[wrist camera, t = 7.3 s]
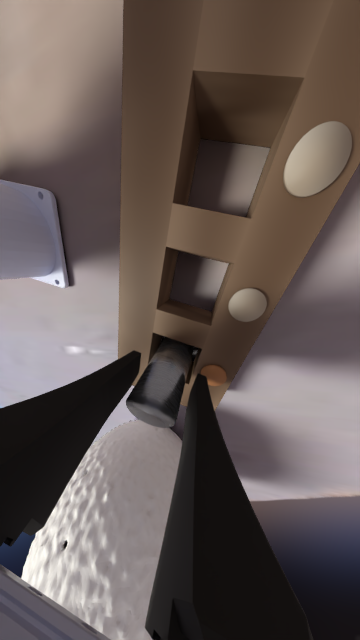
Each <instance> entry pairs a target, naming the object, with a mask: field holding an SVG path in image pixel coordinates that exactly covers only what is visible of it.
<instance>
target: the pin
mask: <svg viewBox="0 0 360 640" xmlns="http://www.w3.org/2000/svg"><path fill="white" fill-rule="evenodd" d="M193 350H194V346H192V345H189V344H186V343H183V342H180V341H177V340H174V339H171V338H168V337H165V338H164V339H163V341H162V343H161V344H160V346H159V348H158V349H157V351H156V352H155V354H154V356H153V357H152V359H151V361H150V362H149V364H148V366H147V367H146V369H145V370H144V372H143V374H142V375H141V377H140V379H139V380H138V382H137V384H136V385H135V387H134V388H133V390H132V392H131V393H130V395H129V397H128V398H127V400H126V405H127V408H128V409H129V411H130V412H131V413H132V414H133V415H134V416H135V417H137V418H138V419H139V420H141V421H143V422H145V423H147V424H149V425H152V426H155V427H159V428H169V427H172V426H173V425H174V424H175V423H176V419H177V415H178V411H179V407H180V403H181V399H182V395H183V390H184V386H185V382H186V378H187V374H188V370H189V366H190V362H191V358H192V354H193Z"/></svg>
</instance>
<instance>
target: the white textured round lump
mask: <svg viewBox="0 0 360 640" xmlns="http://www.w3.org/2000/svg"><path fill="white" fill-rule="evenodd" d="M181 448H182V441H181V439H180V438H179V437H178V436H177V435H176V434H175V432H173V431H172V430H171V429H170V428H159V427H155V426H152V425H149V424H147V423H145V422H143V421H141V420H139V419H138V420H135V421H132V420H130V421H129V422H128V423H124V424H123V425H119V426H118V427H115V428H114V429H112V430H111V431H110V432H108V433H106V434H105V435H104V436H102V437H101V438H100V439H99V440H98V441H96V442H95V443H94V445H92V446H91V447H90V448H89V449H88V451H87V452H86V454H85V456H84V457H83V459H82V461H81V462H80V464H79V466H78V467H77V469H76V471H75V473H74V474H73V476H72V478H71V479H70V481H69V483H68V485H67V486H66V488H65V490H64V492H63V493H62V495H61V497H60V499H59V501H58V502H57V504H56V506H55V508H54V509H53V511H52V513H51V515H50V517H49V518H48V520H47V522H46V524H45V526H44V527H43V528H42V529H41V530H39V531H38V532H36V538H35V539H34V541H33V542H32V545H31V547H30V550H29V555H28V557H27V560H26V563H25V565H24V567H23V575H22V578H21V579H22V580H24V581H25V582H27V583H28V584H30V585H31V586H33V587H34V588H36V589H37V590H39V591H40V592H41V593H43V594H44V595H46V596H47V597H49V598H50V599H52V600H53V601H55V602H56V603H58V604H59V605H61V606H62V607H64V608H65V609H67V610H68V611H69V612H71V613H72V614H74V615H75V616H77V617H78V618H80V619H81V620H83V621H84V622H86V623H87V624H89V625H90V626H92V627H93V628H94V629H96V630H97V631H99V632H100V633H102V634H103V635H105V636H106V637H108V638H109V639H111V640H153V639H152V638H151V636H150V635H149V633H148V632H147V630H146V629H145V623H146V617H147V612H148V607H149V602H150V597H151V592H152V588H153V583H154V579H155V574H156V570H157V565H158V561H159V556H160V551H161V547H162V542H163V538H164V533H165V528H166V523H167V519H168V514H169V509H170V505H171V500H172V495H173V490H174V485H175V480H176V475H177V470H178V465H179V460H180V454H181Z"/></svg>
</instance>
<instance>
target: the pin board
mask: <svg viewBox="0 0 360 640" xmlns="http://www.w3.org/2000/svg"><path fill="white" fill-rule="evenodd" d="M200 138H201V139H209V140H217V141H224V142H232V143H240V144H247V145H255V146H263V147H270V151H269V154H268V156H267V159H266V162H265V165H264V168H263V170H262V173H261V176H260V179H259V182H258V184H257V187H256V190H255V193H254V195H253V198H252V201H251V204H250V207H249V209H248V212H247V215H246V218H245V217H240V216H235V215H230V214H225V213H220V212H215V211H210V210H205V209H200V208H195V207H190V206H187V205H188V200H189V195H190V190H191V184H192V179H193V174H194V169H195V164H196V159H197V153H198V148H199V143H200ZM359 163H360V0H124V9H123V74H122V138H121V203H120V268H119V332H118V359H120V358H121V357H123V356H125V355H126V354H128V353H130V352H132V351H133V350H135V351H138V352H140V353H141V361H140V369H139V373H138V375H137V377H136V379H135V381H134V382H133V384H132V385H133V386H135V385H136V384H137V382H138V380H139V379H140V377H141V375H142V374H143V372H144V370H145V369H146V367H147V366H148V364H149V362H150V361H151V359H152V357H153V356H154V354H155V352H156V351H157V349H158V348H159V346H160V344H161V340H162V336H165V337H168V338H171V339H174V340H177V341H180V342H183V343H186V344H189V345H192V346H195V347H198V351H197V354H196V357H195V360H194V361H191V362H190V366H189V370H188V374H187V378H186V382H185V386H184V390H183V395H182V399H181V403H180V404H181V405H183V406H186V407H187V404H188V399H189V395H190V391H191V389H192V386H193V383H194V381H195V378H196V376H197V373H199V374H201V375H204V376H206V377H207V381H208V386H209V391H210V395H211V400H212V403H213V407H214V411H215V409H216V408H217V406H218V404H219V403H220V401H221V399H222V397H223V396H224V394H225V392H226V391H227V389H228V387H229V385H230V384H231V382H232V380H233V379H234V377H235V375H236V374H237V372H238V370H239V368H240V367H241V365H242V363H243V362H244V360H245V358H246V356H247V355H248V353H249V351H250V350H251V348H252V346H253V344H254V343H255V341H256V339H257V338H258V336H259V334H260V332H261V331H262V329H263V327H264V326H265V324H266V322H267V321H268V319H269V317H270V315H271V314H272V312H273V310H274V309H275V307H276V305H277V303H278V302H279V300H280V298H281V297H282V295H283V293H284V291H285V290H286V288H287V286H288V285H289V283H290V281H291V280H292V278H293V276H294V274H295V273H296V271H297V269H298V268H299V266H300V264H301V262H302V261H303V259H304V257H305V256H306V254H307V252H308V250H309V249H310V247H311V245H312V244H313V242H314V240H315V238H316V237H317V235H318V233H319V232H320V230H321V228H322V227H323V225H324V223H325V221H326V220H327V218H328V216H329V215H330V213H331V211H332V209H333V208H334V206H335V204H336V203H337V201H338V199H339V197H340V196H341V194H342V192H343V191H344V189H345V187H346V186H347V184H348V182H349V180H350V179H351V177H352V175H353V174H354V172H355V170H356V168H357V167H358V165H359ZM179 251H180V252H184V253H188V254H192V255H196V256H200V257H204V258H208V259H213V260H217V261H221V262H225V263H229V265H228V268H227V271H226V273H225V276H224V279H223V282H222V284H221V287H220V290H219V293H218V296H217V298H216V301H215V304H214V307H213V309H212V312H211V311H208V310H204V309H201V308H198V307H194V306H191V305H188V304H184V303H181V302H177V301H174V300H171V299H169V298H170V293H171V288H172V283H173V277H174V272H175V267H176V262H177V257H178V252H179Z"/></svg>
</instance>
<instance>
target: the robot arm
mask: <svg viewBox="0 0 360 640" xmlns="http://www.w3.org/2000/svg"><path fill="white" fill-rule="evenodd" d="M17 278H33V279H36V280H39V281H42V282H45V283H48V284H51V285H55V286H58V287H61V288H67V287H68V286H69V283H68V276H67V270H66V263H65V257H64V250H63V244H62V237H61V231H60V225H59V218H58V212H57V205H56V199H55V196H54V194H53V193H52V192H51V191H49V190H46V189H43V188H38V187H34V186H29V185H24V184H19V183H15V182H10V181H5V180H1V179H0V280H3V279H17ZM140 361H141V353H140V352H138V351H135V350H133V351H132V352H130V353H128V354H126V355H125V356H123V357H121V358H120V359H118V360H116V361H114V362H113V363H111V364H109V365H107V366H105V367H103V368H102V369H100V370H98V371H96V372H94V373H92V374H90V375H88V376H86V377H83V378H81V379H79V380H77V381H75V382H72V383H70V384H68V385H65V386H63V387H60V388H58V389H55V390H53V391H50V392H47V393H45V394H42V395H39V396H37V397H34V398H31V399H28V400H25V401H22V402H19V403H16V404H13V405H10V406H7V407H3V408H0V546H1V545H2V543H3V542H4V543H5V544H7V545H9V546H12V544H13V543H14V542H15V541H16V539H17V538H18V537H19V535H20V534H21V532H22V531H23V532H25V533H27V534H28V535H33V534H35V533H36V532H38V531H39V530H41V529H42V528H43V527H44V526H45V524H46V522H47V520H48V518H49V517H50V515H51V513H52V511H53V509H54V508H55V506H56V504H57V502H58V501H59V499H60V497H61V495H62V493H63V492H64V490H65V488H66V486H67V485H68V483H69V481H70V479H71V478H72V476H73V474H74V473H75V471H76V469H77V467H78V466H79V464H80V462H81V461H82V459H83V457H84V456H85V454H86V452H87V451H88V449H89V447H90V446H91V444H92V442H93V441H94V439H95V437H96V436H97V434H98V433H99V431H100V429H101V428H102V426H103V425H104V423H105V422H106V420H107V419H108V417H109V416H110V414H111V413H112V412H113V410H114V409H115V408H116V406H117V405H118V403H119V402H120V401H121V399H122V398H123V397H124V395H125V394H126V392H127V391H128V390H129V388H130V387H131V386H132V384H133V382H134V381H135V379H136V377H137V375H138V373H139V369H140ZM145 629H146V630H147V632H148V633H149V635H150V636H151V638H152V639H153V640H313V638H312V635H311V632H310V628H309V625H308V622H307V618H306V615H305V613H304V611H303V609H302V607H301V605H300V604H299V601H298V599H297V597H296V596H295V594H294V592H293V590H292V588H291V586H290V584H289V582H288V580H287V578H286V576H285V574H284V572H283V570H282V568H281V566H280V564H279V562H278V560H277V558H276V557H275V554H274V552H273V550H272V548H271V546H270V544H269V542H268V540H267V538H266V536H265V534H264V532H263V529H262V527H261V525H260V523H259V521H258V519H257V517H256V515H255V513H254V510H253V508H252V506H251V504H250V501H249V499H248V497H247V495H246V492H245V490H244V488H243V486H242V483H241V481H240V479H239V477H238V474H237V472H236V470H235V467H234V465H233V462H232V460H231V457H230V455H229V452H228V449H227V447H226V444H225V441H224V439H223V436H222V433H221V430H220V427H219V424H218V421H217V418H216V414H215V411H214V407H213V403H212V400H211V395H210V391H209V386H208V381H207V377H206V376H204V375H201V374H199V373H197V376H196V378H195V381H194V383H193V386H192V389H191V391H190V395H189V399H188V404H187V409H186V417H185V425H184V432H183V440H182V448H181V454H180V460H179V465H178V470H177V475H176V480H175V485H174V490H173V495H172V500H171V505H170V509H169V514H168V519H167V523H166V528H165V533H164V538H163V542H162V547H161V551H160V556H159V561H158V565H157V570H156V574H155V579H154V583H153V588H152V592H151V597H150V602H149V607H148V612H147V617H146V623H145ZM0 640H111V639H109V638H108V637H106V636H105V635H103V634H102V633H100V632H99V631H97V630H96V629H94V628H93V627H92V626H90V625H89V624H87V623H86V622H84V621H83V620H81V619H80V618H78V617H77V616H75V615H74V614H72V613H71V612H69V611H68V610H67V609H65V608H64V607H62V606H61V605H59V604H58V603H56V602H55V601H53V600H52V599H50V598H49V597H47V596H46V595H44V594H43V593H41V592H40V591H39V590H37V589H36V588H34V587H33V586H31V585H30V584H28V583H27V582H25V581H24V580H22V579H21V578H19V577H18V576H16V575H15V574H13V573H12V572H11V571H9V570H8V569H6V568H5V567H3V566H2V565H0Z"/></svg>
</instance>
